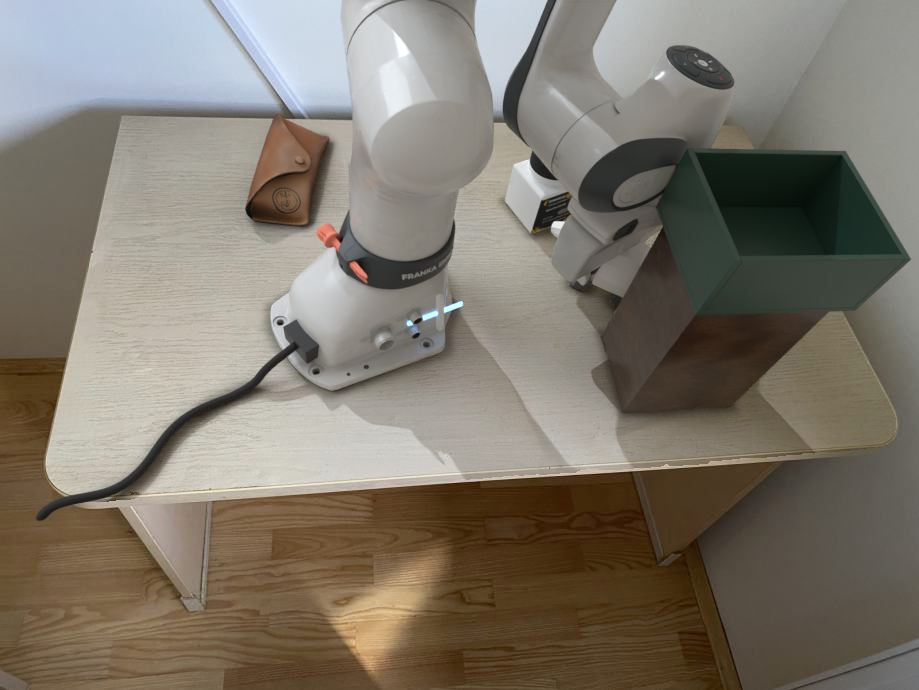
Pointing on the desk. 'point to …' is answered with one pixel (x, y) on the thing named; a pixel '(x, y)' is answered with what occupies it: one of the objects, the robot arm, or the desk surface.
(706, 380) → the stand
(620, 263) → the giant panda
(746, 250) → the bin
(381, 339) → the robot arm
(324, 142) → the sunglasses case
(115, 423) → the desk surface
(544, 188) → the medicine bottle
